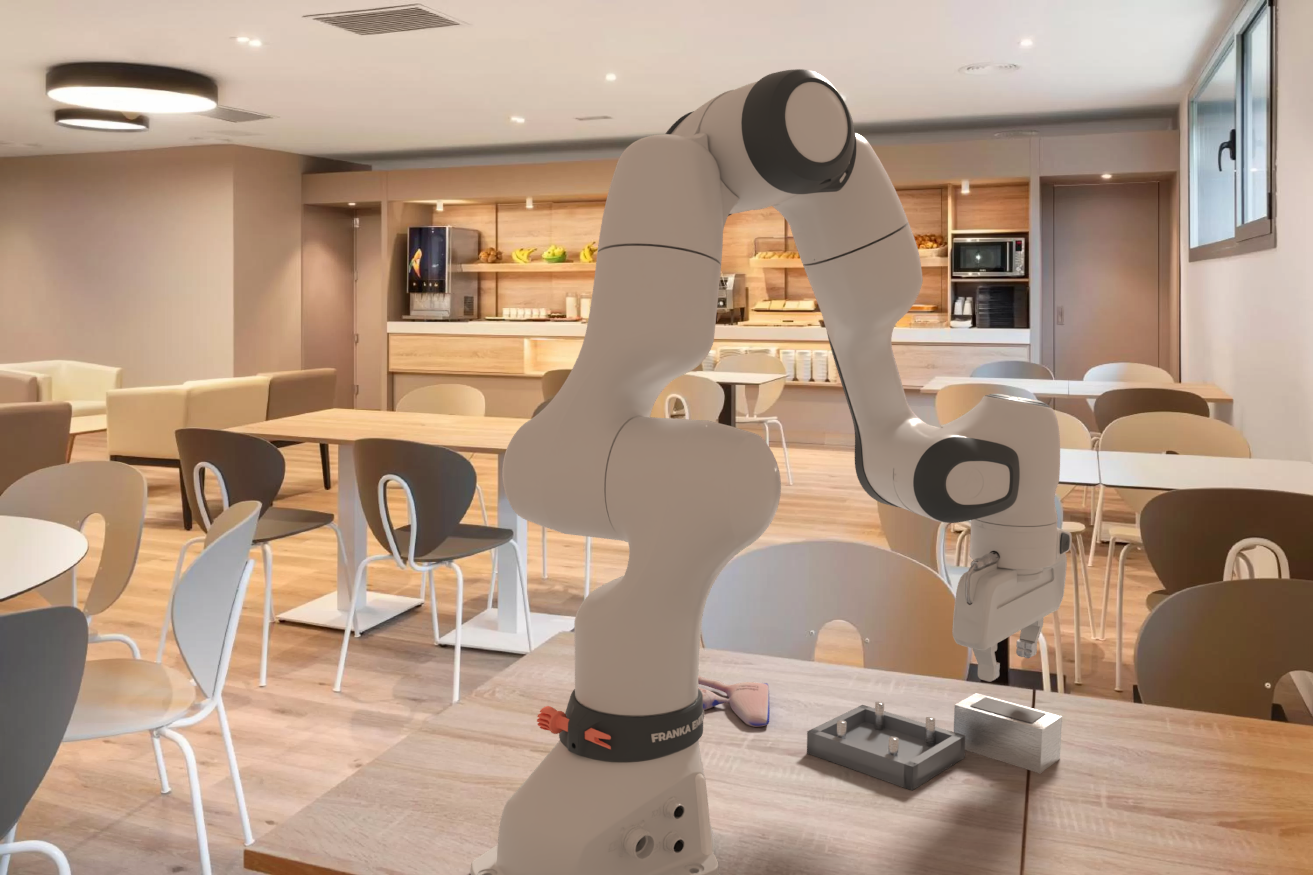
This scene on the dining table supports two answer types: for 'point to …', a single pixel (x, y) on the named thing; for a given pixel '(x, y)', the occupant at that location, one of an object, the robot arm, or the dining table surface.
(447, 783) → the dining table surface
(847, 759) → the pin tray
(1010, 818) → the dining table surface
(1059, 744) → the block
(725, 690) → the anatomical model
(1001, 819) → the dining table surface
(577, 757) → the robot arm
